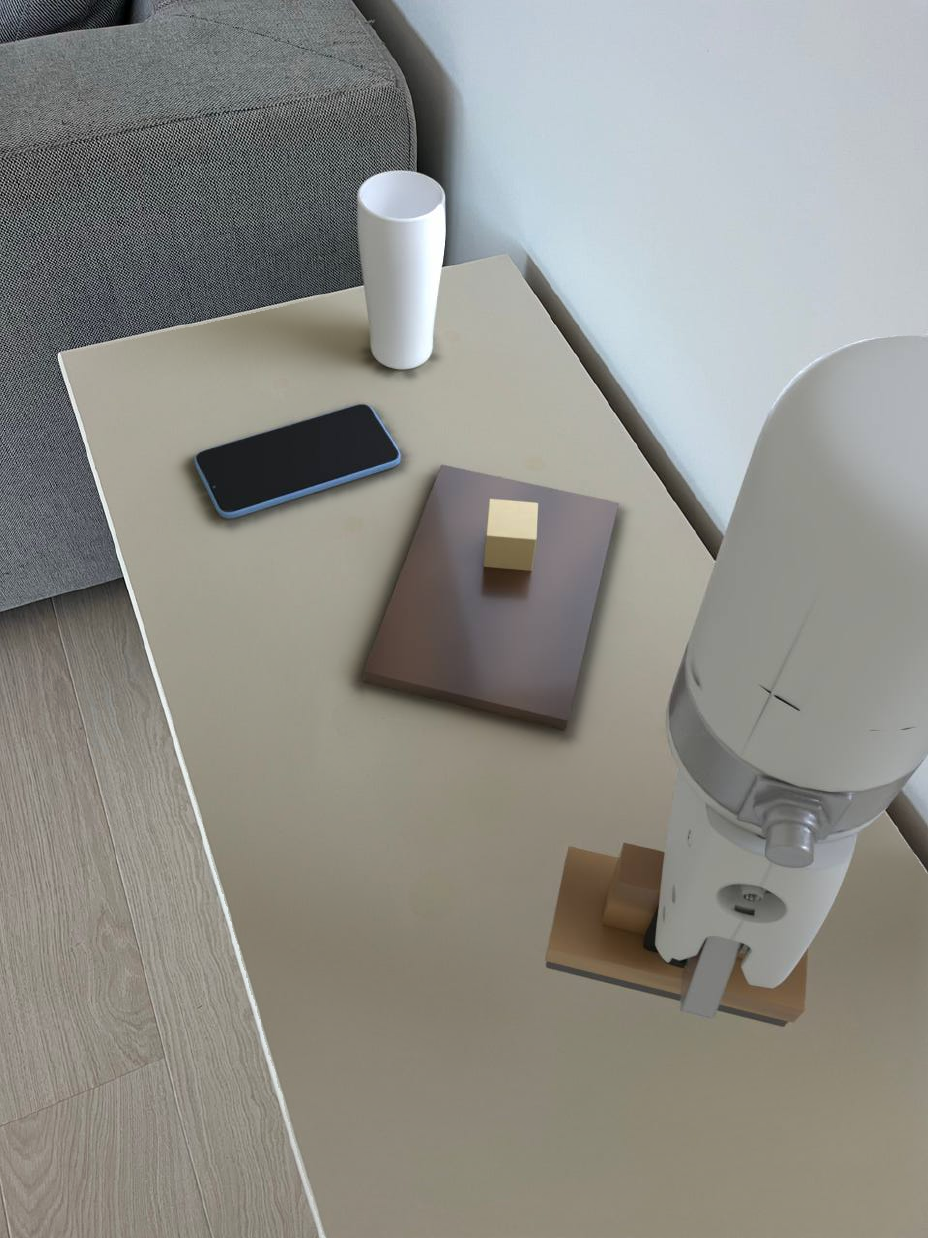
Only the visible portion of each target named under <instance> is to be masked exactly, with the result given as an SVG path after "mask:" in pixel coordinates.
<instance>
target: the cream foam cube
mask: <svg viewBox="0 0 928 1238" xmlns="http://www.w3.org/2000/svg"><path fill="white" fill-rule="evenodd" d="M537 518H538V503H533V502H521V501H509V500H498V499H489V508H488V519H487V530H486V542H485V554H484V567H492V568H504V569H515V570H527V571H532V566H533V559H534V553H535V546H536V538H537Z"/></svg>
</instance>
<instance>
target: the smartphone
mask: <svg viewBox="0 0 928 1238" xmlns="http://www.w3.org/2000/svg"><path fill="white" fill-rule="evenodd" d="M401 459H402V456H401V452H400V449H399V447H398V446H397V445H396V443H395V441H394V440H393V437H392V436H391V434H389V432H388V430H387V429H386V427H385V425H384V424H383V422H382V421H381V419H380V418H379V416H378V415H377V412H376V411H375V410H374V409H373V407H372V406H370V405H368V404H367V403H366V404H365V403H358V404H354V405H351V406H347V407H343V408H341V409H337V410H333V411H331V412H327V413H324V414H321V415H320V414H319V415H316V416H313V417H310V418H307V419H304V420H300V421H297V422H293V423H290V424H287V425H283V426H279V427H276V428H274V429H270V430H266V431H263V432H260V433H257V434H253V435H249V436H247V437H244V438H240V439H236V440H233V441H229V442H227V443H223V444H219V445H216V446H213V447H209V448H206V449H203V450H201V451H199V452H198V453H197V454H196V455H195V457H194V465H195V468H196V471H197V472H198V474H199V477H200V478H201V481H202V483H203V485H204V487H205V489H206V492H208V495H209V498H210V499H211V502H212V504H213V506H214V508H215V510H216V512H217V514H218V515H220V517H222V518H224V519H235V518H239V517H243V516H245V515H248V514H251V513H255V512H258V511H261V510H264V509H267V508H270V507H273V506H277V505H280V504H283V503H286V502H290V501H292V500H296V499H298V498H302V497H305V496H308V495H311V494H315V493H317V492H320V491H324V490H326V489H329V488H333V487H336V486H339V485H342V484H345V483H348V482H352V481H355V480H358V479H362V478H364V477H368V476H370V475H373V474H377V473H380V472H383V471H386V470H389V469H391V468H392V469H393V468H394V467H396V466H398V465H399V464H400V463H401Z"/></svg>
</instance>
